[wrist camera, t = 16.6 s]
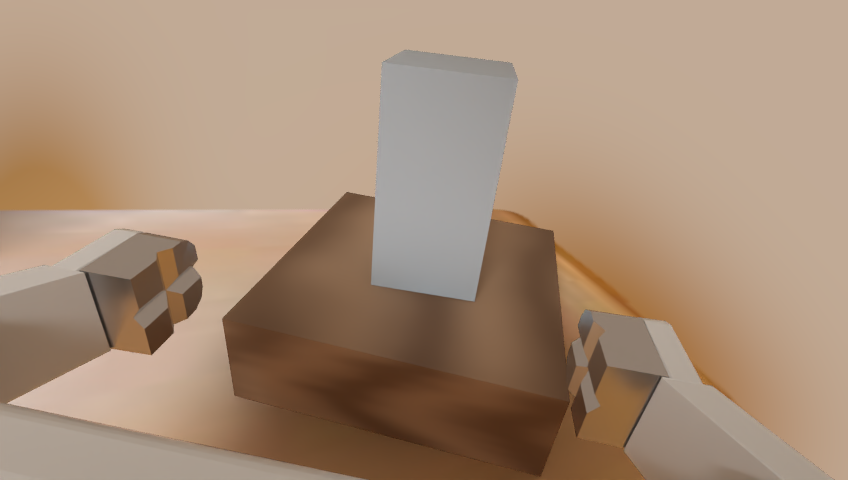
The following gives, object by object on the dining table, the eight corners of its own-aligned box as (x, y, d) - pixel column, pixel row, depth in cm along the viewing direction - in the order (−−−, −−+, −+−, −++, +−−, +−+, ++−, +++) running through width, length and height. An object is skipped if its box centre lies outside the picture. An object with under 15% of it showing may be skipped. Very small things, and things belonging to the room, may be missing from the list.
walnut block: (235, 401, 20) (222, 318, 18) (345, 254, 32) (346, 192, 30) (537, 482, 18) (569, 401, 16) (535, 293, 30) (553, 230, 28)
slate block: (474, 301, 21) (518, 79, 16) (370, 284, 21) (381, 62, 16) (477, 249, 25) (512, 62, 20) (391, 236, 25) (405, 49, 20)
